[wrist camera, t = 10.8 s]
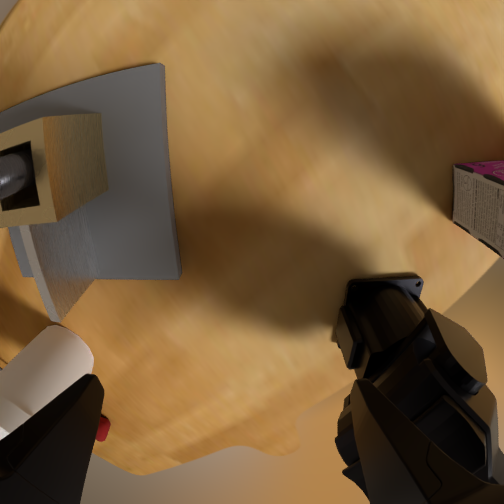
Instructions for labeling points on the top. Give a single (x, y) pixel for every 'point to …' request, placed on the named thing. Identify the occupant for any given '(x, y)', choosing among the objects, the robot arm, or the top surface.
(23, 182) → the hinge pin
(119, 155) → the base plate
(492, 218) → the candy bar box
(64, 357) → the foam cup
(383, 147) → the top surface
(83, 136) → the hinge
